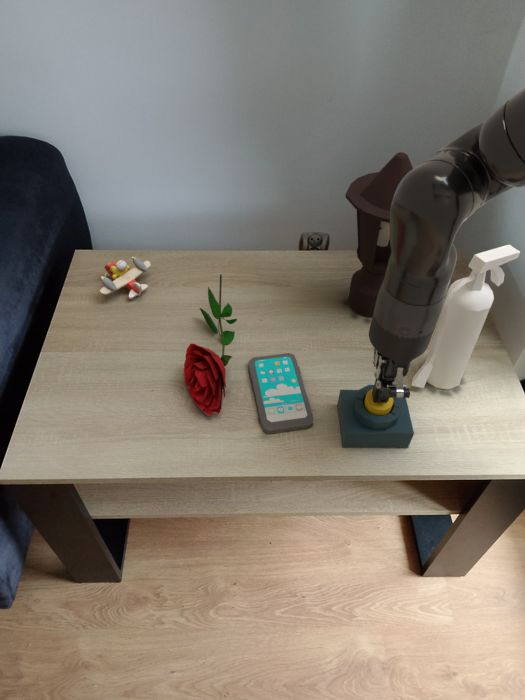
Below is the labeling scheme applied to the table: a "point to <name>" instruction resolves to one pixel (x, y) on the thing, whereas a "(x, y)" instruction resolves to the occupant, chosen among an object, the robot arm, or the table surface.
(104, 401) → the table surface
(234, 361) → the table surface
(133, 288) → the toy airplane
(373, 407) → the button
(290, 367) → the smartphone
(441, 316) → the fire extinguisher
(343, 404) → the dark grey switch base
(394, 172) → the lantern
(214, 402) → the flower
